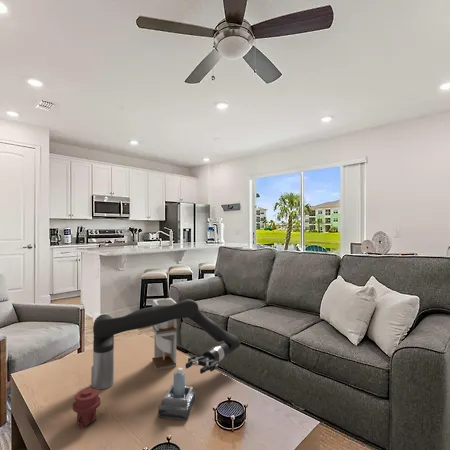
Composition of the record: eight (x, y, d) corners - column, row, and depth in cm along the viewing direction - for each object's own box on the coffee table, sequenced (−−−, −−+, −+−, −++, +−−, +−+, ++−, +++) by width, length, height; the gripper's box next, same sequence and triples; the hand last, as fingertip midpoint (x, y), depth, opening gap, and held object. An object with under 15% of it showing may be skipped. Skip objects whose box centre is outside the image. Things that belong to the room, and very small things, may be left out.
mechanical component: (105, 416, 125) (90, 432, 115) (83, 412, 127) (66, 428, 117) (105, 386, 125) (90, 400, 115) (83, 383, 127) (66, 396, 117)
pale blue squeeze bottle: (171, 399, 130) (172, 371, 130) (175, 393, 135) (175, 365, 135) (183, 400, 129) (183, 372, 129) (186, 394, 134) (186, 366, 134)
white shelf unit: (152, 361, 174) (152, 299, 173) (170, 357, 178) (171, 298, 178) (156, 370, 163) (157, 305, 163) (176, 366, 168) (176, 302, 167)
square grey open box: (158, 418, 124) (158, 403, 124) (169, 397, 138) (169, 384, 138) (187, 420, 122) (187, 406, 122) (195, 399, 137) (195, 386, 137)
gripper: (202, 345, 157) (181, 357, 144) (225, 351, 150) (205, 364, 136) (202, 359, 157) (181, 372, 144) (225, 366, 150) (205, 381, 136)
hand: (193, 368), depth 140 cm, fingers open, 8 cm apart
